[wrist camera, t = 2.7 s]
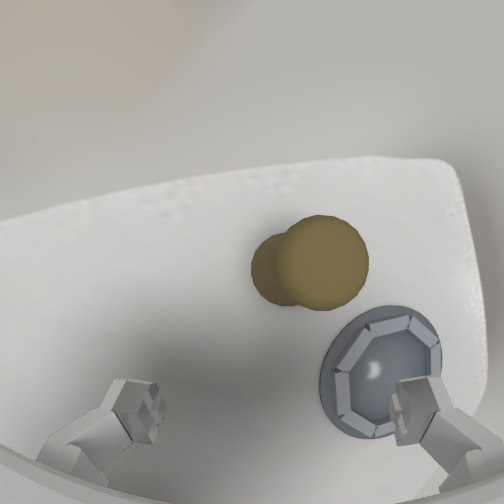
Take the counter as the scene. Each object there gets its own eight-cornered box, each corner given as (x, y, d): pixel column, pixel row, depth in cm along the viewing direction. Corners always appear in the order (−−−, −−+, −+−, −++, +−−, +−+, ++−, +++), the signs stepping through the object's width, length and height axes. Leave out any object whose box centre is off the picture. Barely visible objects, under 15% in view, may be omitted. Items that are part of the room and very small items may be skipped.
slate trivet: (437, 412, 27) (446, 417, 25) (324, 451, 26) (329, 459, 24) (435, 294, 28) (445, 294, 26) (312, 320, 26) (317, 322, 25)
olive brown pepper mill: (336, 270, 27) (405, 263, 16) (286, 321, 26) (329, 346, 15) (288, 217, 27) (331, 177, 16) (235, 267, 26) (246, 257, 15)
